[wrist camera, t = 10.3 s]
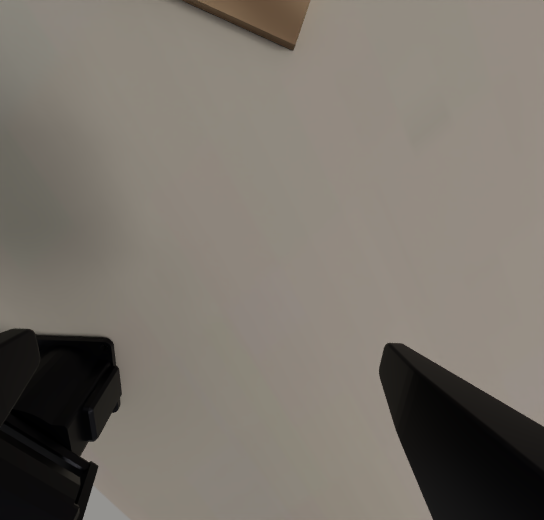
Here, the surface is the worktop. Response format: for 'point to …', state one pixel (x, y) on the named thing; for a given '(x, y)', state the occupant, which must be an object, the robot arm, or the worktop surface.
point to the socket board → (261, 16)
